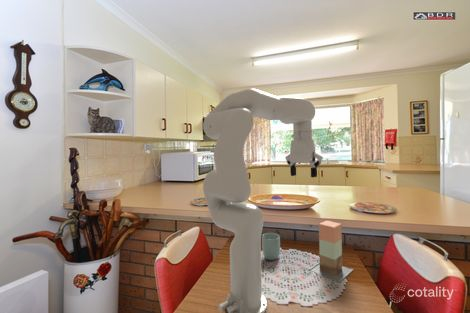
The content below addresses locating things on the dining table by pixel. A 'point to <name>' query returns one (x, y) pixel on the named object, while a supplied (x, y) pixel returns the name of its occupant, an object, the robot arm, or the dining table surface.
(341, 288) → the dining table surface
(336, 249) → the sage brick
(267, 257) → the cup
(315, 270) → the plate
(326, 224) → the terracotta brick
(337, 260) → the walnut brick
